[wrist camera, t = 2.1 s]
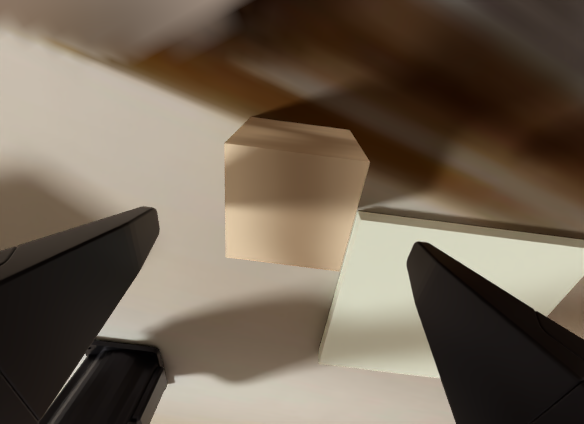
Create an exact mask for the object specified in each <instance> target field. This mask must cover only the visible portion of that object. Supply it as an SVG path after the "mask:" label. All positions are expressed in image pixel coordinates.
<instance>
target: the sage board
mask: <svg viewBox="0 0 584 424" xmlns="http://www.w3.org/2000/svg"><path fill="white" fill-rule="evenodd" d="M417 241H420V242H427V243H430V244H432V245H433V246H435V247H436V248H438V249H439V250H441V251H443V252H444V253H446V254H447V255H449V256H451V257H452V258H454V259H455V260H457V261H459V262H460V263H462V264H463V265H465V266H466V267H468V268H470V269H471V270H473V271H474V272H476V273H478V274H479V275H481V276H482V277H484V278H485V279H487V280H489V281H490V282H492V283H493V284H495V285H497V286H498V287H500V288H501V289H503V290H505V291H506V292H508V293H509V294H511V295H512V296H514V297H516V298H517V299H519V300H520V301H522V302H524V303H525V304H527V305H528V306H530V307H532V308H533V309H534V310H535V311H538V312H540V313H541V314H543V315H544V316H546V317H547V316H548V315H549V314H550V312H551V311H552V310H553V309H554V308H555V307H556V306H557V305H558V304H559V303H560V301H561V300H562V299H563V298H564V297H565V296H566V295H567V294H568V293H569V291H570V290H571V289H572V288H573V287H574V286H575V285H576V284H577V283H578V282H579V280H580V279H581V278H582V277H583V276H584V240H581V239H573V238H566V237H558V236H550V235H542V234H534V233H526V232H518V231H511V230H503V229H495V228H487V227H479V226H471V225H464V224H456V223H448V222H440V221H432V220H424V219H416V218H409V217H401V216H393V215H385V214H377V213H369V212H361V211H358V212H357V215H356V219H355V222H354V226H353V230H352V233H351V237H350V240H349V244H348V247H347V251H346V255H345V258H344V262H343V265H342V269H341V273H340V276H339V280H338V283H337V287H336V290H335V294H334V298H333V301H332V305H331V308H330V312H329V315H328V319H327V323H326V326H325V330H324V333H323V337H322V341H321V344H320V348H319V351H318V360H319V364H323V365H331V366H339V367H348V368H356V369H365V370H373V371H382V372H390V373H399V374H407V375H415V376H424V377H432V378H440V375H439V373H438V370H437V367H436V364H435V361H434V358H433V355H432V352H431V349H430V346H429V344H428V341H427V338H426V335H425V332H424V329H423V326H422V323H421V320H420V317H419V315H418V312H417V308H416V305H415V302H414V298H413V293H412V289H411V284H410V280H409V275H408V271H407V266H406V262H407V258H408V256H409V254H410V251H411V249H412V247H413V245H414V243H415V242H417Z"/></svg>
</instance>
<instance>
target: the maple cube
mask: <svg viewBox="0 0 584 424" xmlns="http://www.w3.org/2000/svg"><path fill="white" fill-rule="evenodd" d="M369 165H370V161H369V160H368V158H367V156H366V155H365V153H364V152H363V150H362V149H361V147H360V145H359V144H358V142H357V141H356V139H355V138H354V136H353V134H352V133H351V131H350V130H346V129H339V128H331V127H324V126H316V125H309V124H301V123H294V122H286V121H279V120H271V119H264V118H256V117H251V118H250V119H248V120H247V121H246V122H245V123H244V124H243V125H242V126H241V127H240V128H239V129H238V130H237V131H236V132H235V133H234V134H233V135H232V136H231V137H230V138H229V139H228V140H227V141H226V142H225V237H226V257H227V258H236V259H244V260H252V261H260V262H268V263H276V264H284V265H292V266H300V267H308V268H316V269H324V270H333V271H340V269H341V265H342V261H343V258H344V254H345V251H346V247H347V243H348V240H349V236H350V233H351V229H352V226H353V222H354V218H355V215H356V211H357V208H358V204H359V200H360V197H361V193H362V190H363V186H364V183H365V179H366V175H367V172H368V168H369Z"/></svg>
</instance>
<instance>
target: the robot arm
mask: <svg viewBox="0 0 584 424" xmlns="http://www.w3.org/2000/svg"><path fill="white" fill-rule="evenodd" d="M159 230H160V228H159V221H158V215H157V211H156V209H155V208H152V207H139V208H136V209H133V210H129V211H126V212H123V213H120V214H117V215H113V216H110V217H107V218H104V219H101V220H98V221H94V222H91V223H88V224H85V225H82V226H79V227H75V228H72V229H69V230H66V231H63V232H59V233H56V234H53V235H50V236H47V237H44V238H40V239H37V240H34V241H31V242H28V243H25V244H21V245H19V246H18V247H12V248H8V249H5V250H2V251H0V424H150V422H151V419H152V417H153V415H154V412H155V410H156V408H157V406H158V403H159V401H160V399H161V396H162V394H163V392H164V390H165V389H166V387H167V380H166V375H165V371H164V368H163V364H162V359H161V355H160V351H159V350H158V349H157V348H155V347H147V346H139V345H130V344H122V343H114V342H105V341H97V340H94V339H95V338H96V336H97V335H98V333H99V332H100V330H101V329H102V327H103V326H104V324H105V323H106V321H107V320H108V318H109V317H110V315H111V314H112V312H113V311H114V309H115V308H116V306H117V305H118V303H119V302H120V300H121V299H122V297H123V296H124V294H125V293H126V291H127V290H128V288H129V287H130V285H131V284H132V282H133V281H134V279H135V278H136V276H137V274H138V273H139V271H140V270H141V268H142V266H143V264H144V262H145V260H146V258H147V256H148V254H149V252H150V250H151V249H152V247H153V245H154V243H155V241H156V239H157V237H158V235H159ZM406 266H407V271H408V275H409V280H410V284H411V289H412V293H413V298H414V302H415V305H416V308H417V312H418V315H419V317H420V320H421V323H422V326H423V329H424V332H425V335H426V338H427V341H428V344H429V346H430V349H431V352H432V355H433V358H434V361H435V364H436V367H437V370H438V373H439V375H440V378H441V381H442V384H443V387H444V390H445V393H446V396H447V399H448V402H449V404H450V407H451V410H452V413H453V416H454V419H455V422H456V424H584V339H582V338H580V337H578V336H577V335H575V334H573V333H572V332H570V331H569V330H567V329H565V328H564V327H562V326H560V325H559V324H557V323H556V322H554V321H552V320H551V319H549V318H548V317H546V316H544V315H543V314H541V313H540V312H538V311H535V310H534V309H533V308H532V307H530V306H528V305H527V304H525V303H524V302H522V301H520V300H519V299H517V298H516V297H514V296H512V295H511V294H509V293H508V292H506V291H505V290H503V289H501V288H500V287H498V286H497V285H495V284H493V283H492V282H490V281H489V280H487V279H485V278H484V277H482V276H481V275H479V274H478V273H476V272H474V271H473V270H471V269H470V268H468V267H466V266H465V265H463V264H462V263H460V262H459V261H457V260H455V259H454V258H452V257H451V256H449V255H447V254H446V253H444V252H443V251H441V250H439V249H438V248H436V247H435V246H433V245H432V244H430V243H427V242H420V241H417V242H415V243H414V245H413V247H412V249H411V251H410V254H409V256H408V258H407V262H406ZM85 353H86V356H87V357H86V359H85V360H84V361H83V363H82V364H81V365H80V367H79V368H78V369H77V371H76V372H75V373H74V375H73V376H72V377H71V379H70V380H69V381H68V383H67V384H66V385H65V387H64V388H63V389H62V387H63V386H64V384H65V383H66V381H67V380H68V378H69V377H70V375H71V374H72V372H73V371H74V369H75V368H76V366H77V365H78V363H79V362H80V360H81V359H82V357H83V356H84V354H85ZM61 389H62V391H61V392H60V390H61ZM59 392H60V393H59ZM58 393H59V395H58ZM57 395H58V396H57ZM56 396H57V397H56ZM55 398H56V399H55ZM54 399H55V400H54ZM52 402H53V403H52Z"/></svg>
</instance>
